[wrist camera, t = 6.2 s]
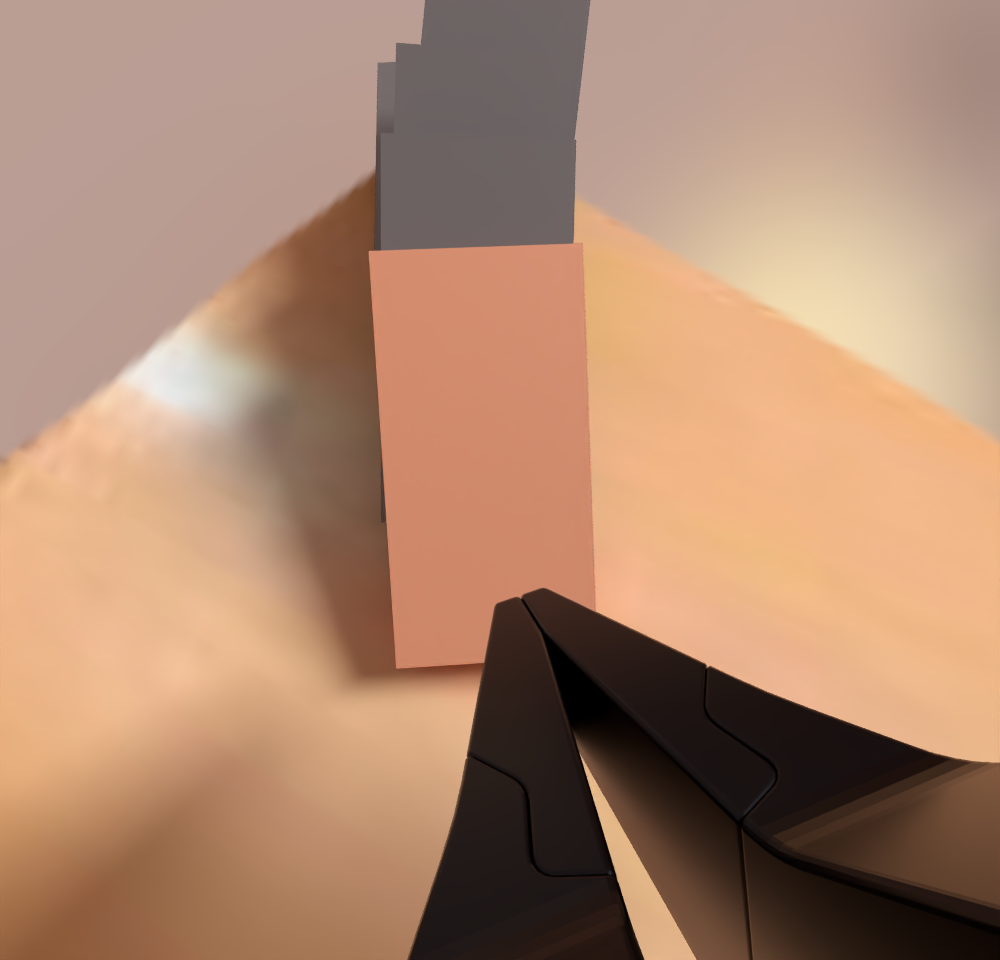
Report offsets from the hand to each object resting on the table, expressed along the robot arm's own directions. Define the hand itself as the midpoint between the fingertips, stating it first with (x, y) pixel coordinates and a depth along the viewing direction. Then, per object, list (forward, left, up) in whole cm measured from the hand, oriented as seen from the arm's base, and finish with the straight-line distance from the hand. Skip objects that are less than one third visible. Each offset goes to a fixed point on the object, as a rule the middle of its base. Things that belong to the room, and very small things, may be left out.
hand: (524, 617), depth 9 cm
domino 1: (0, 0, -6) cm, 6 cm away
